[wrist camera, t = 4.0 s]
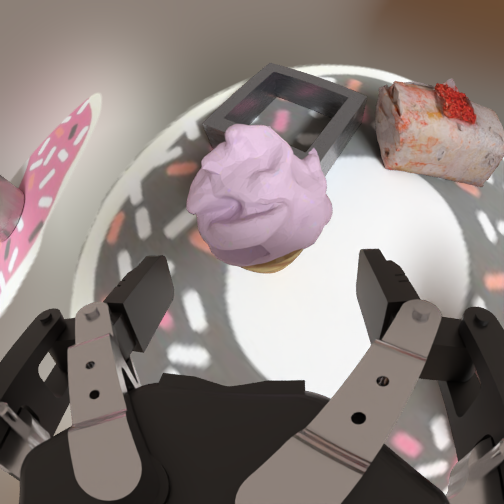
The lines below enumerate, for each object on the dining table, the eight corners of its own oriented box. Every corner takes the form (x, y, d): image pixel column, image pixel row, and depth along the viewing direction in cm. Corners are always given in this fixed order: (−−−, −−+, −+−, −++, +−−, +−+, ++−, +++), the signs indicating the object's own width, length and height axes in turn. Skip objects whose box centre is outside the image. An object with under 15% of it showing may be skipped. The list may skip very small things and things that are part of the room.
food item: (374, 177, 25) (400, 105, 16) (368, 121, 28) (382, 52, 18) (481, 196, 23) (526, 146, 14) (466, 142, 25) (497, 88, 16)
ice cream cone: (299, 219, 25) (297, 80, 11) (328, 283, 23) (375, 185, 9) (229, 246, 25) (155, 131, 11) (253, 313, 23) (185, 258, 9)
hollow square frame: (212, 148, 29) (202, 123, 25) (273, 87, 31) (269, 62, 27) (310, 197, 25) (312, 172, 22) (361, 121, 28) (367, 96, 24)
